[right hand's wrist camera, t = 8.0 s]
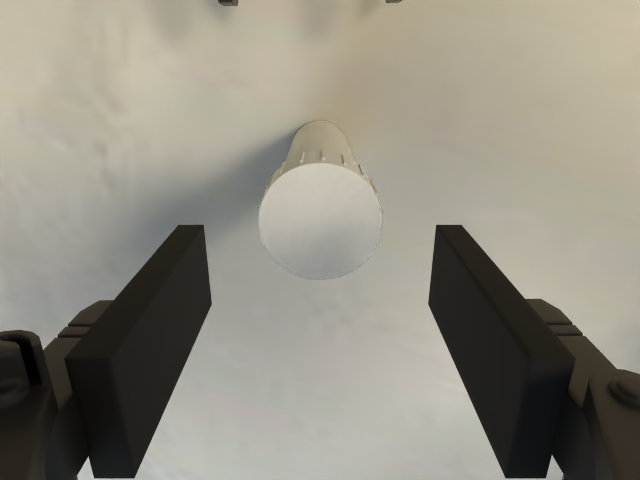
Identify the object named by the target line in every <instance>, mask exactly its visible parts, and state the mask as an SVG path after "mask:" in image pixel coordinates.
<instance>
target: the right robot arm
mask: <svg viewBox="0 0 640 480" xmlns="http://www.w3.org/2000/svg"><path fill="white" fill-rule="evenodd" d="M211 305H212V302H211V292H210V282H209V272H208V262H207V253H206V243H205V233H204V225H178V226H177V227H176V229H175V230H174V231H173V232H172V233H171V234H170V236H169V237H168V238H167V239H166V240H165V241H164V242H163V244H162V245H161V246H160V247H159V248H158V249H157V251H156V252H155V253H154V254H153V255H152V256H151V258H150V259H149V260H148V261H147V262H146V263H145V265H144V266H143V267H142V268H141V269H140V270H139V272H138V273H137V274H136V275H135V276H134V277H133V279H132V280H131V281H130V282H129V283H128V284H127V286H126V287H125V288H124V289H123V290H122V291H121V293H120V294H119V295H118V296H117V297H116V298H115V300H99V301H97V302H96V303H94V304H92V305H91V306H89V307H87V308H85V309H84V310H82V311H80V312H79V313H78V314H77V315H76V317H75V318H74V319H73V320H72V321H71V322H70V323H69V324H68V327H65V328H64V329H63V330H62V331H61V332H60V333H59V334H58V338H55V339H54V340H53V341H52V342H51V343H50V344H49V345H48V346H47V347H46V348H45V349H44V350H43V349H42V345H41V341H40V338H39V336H37V335H36V334H35V333H33V332H30V331H23V330H14V331H3V332H0V480H78V478H77V475H78V473H79V471H80V470H81V468H82V466H83V464H84V463H85V461H86V459H87V458H88V456H89V460H90V463H91V467H92V471H93V475H94V478H135V476H136V473H137V471H138V469H139V467H140V464H141V462H142V460H143V458H144V455H145V453H146V451H147V449H148V446H149V444H150V442H151V440H152V437H153V435H154V433H155V431H156V428H157V426H158V424H159V422H160V419H161V417H162V415H163V413H164V410H165V408H166V406H167V404H168V401H169V399H170V397H171V395H172V392H173V390H174V388H175V386H176V383H177V381H178V379H179V377H180V374H181V372H182V370H183V368H184V365H185V363H186V361H187V359H188V356H189V354H190V352H191V350H192V347H193V345H194V343H195V341H196V338H197V336H198V334H199V332H200V329H201V327H202V325H203V323H204V320H205V318H206V316H207V314H208V311H209V309H210V307H211ZM428 305H429V307H430V309H431V311H432V314H433V316H434V318H435V320H436V323H437V325H438V327H439V329H440V332H441V334H442V336H443V338H444V341H445V343H446V345H447V347H448V350H449V352H450V354H451V356H452V359H453V361H454V363H455V365H456V368H457V370H458V372H459V374H460V377H461V379H462V381H463V383H464V386H465V388H466V390H467V392H468V395H469V397H470V399H471V401H472V404H473V406H474V408H475V410H476V413H477V415H478V417H479V419H480V422H481V424H482V426H483V428H484V431H485V433H486V435H487V437H488V440H489V442H490V444H491V446H492V449H493V451H494V453H495V455H496V458H497V460H498V462H499V464H500V467H501V469H502V471H503V473H504V476H505V478H546V475H547V471H548V467H549V463H550V460H551V456H552V455H553V457H554V459H555V460H556V462H557V464H558V465H559V467H560V469H561V470H562V472H563V478H562V480H640V374H637V373H634V372H630V371H627V370H621V369H616V368H615V367H614V365H613V364H612V363H611V362H610V361H609V360H608V359H607V358H606V357H605V356H604V355H603V354H602V353H601V352H600V351H599V350H598V349H597V348H596V347H595V346H594V345H593V344H592V343H591V342H590V341H589V340H588V338H587V337H586V336H583V333H582V332H581V331H580V330H579V329H578V328H577V327H576V326H575V325H572V322H571V321H570V320H569V319H568V318H567V317H566V316H565V315H564V314H563V312H562V311H561V310H559V309H558V308H556V307H554V306H552V305H551V304H549V303H547V302H545V301H544V300H542V299H525V298H524V297H523V296H522V295H521V294H520V293H519V291H518V290H517V289H516V288H515V287H514V286H513V284H512V283H511V282H510V281H509V280H508V279H507V277H506V276H505V275H504V274H503V273H502V272H501V270H500V269H499V268H498V267H497V266H496V265H495V263H494V262H493V261H492V260H491V259H490V258H489V256H488V255H487V254H486V253H485V252H484V251H483V249H482V248H481V247H480V246H479V245H478V244H477V242H476V241H475V240H474V239H473V238H472V237H471V236H470V234H469V233H468V232H467V231H466V230H465V229H464V227H463V226H462V225H436V233H435V243H434V253H433V262H432V272H431V282H430V292H429V302H428Z"/></svg>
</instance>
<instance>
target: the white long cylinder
mask: <svg viewBox="0 0 640 480" xmlns="http://www.w3.org/2000/svg"><path fill="white" fill-rule="evenodd" d="M322 149H324V151H328V152H333V153H337V154H340V155H342V154H344V155H345V157H347V158H349V159H350V160H352V161H353V162H354V159H353V156H352V153H351V150H350V147H349V144H348V141H347V139H346V136H345V135H344V133H343V132H342V130H341V129H340V128H339V127H338V126H336V125H335V124H333V123H331V122H328V121H323V120H317V121H312V122H309V123H307V124H305V125H304V126H302V127H301V128H300V129H299V130H298V131H297V133H296V134H295V136H294V139H293V141H292V144H291V147H290V150H289V153H288V156H287V159H286V162H287V161H288V160H290V159H291V158H293V157H295V156H297V155H300V154H301V152H304V153H306V152H312V151H322Z"/></svg>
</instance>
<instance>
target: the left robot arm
mask: <svg viewBox="0 0 640 480" xmlns="http://www.w3.org/2000/svg"><path fill="white" fill-rule="evenodd" d="M385 1H386V3H399V2H401V1H402V0H385ZM218 2H219V3H220V4H221V5H223V6H238V0H218Z"/></svg>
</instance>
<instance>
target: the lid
mask: <svg viewBox="0 0 640 480" xmlns="http://www.w3.org/2000/svg"><path fill="white" fill-rule="evenodd" d="M376 194H378V193H377V191H376V189H375V186H374V184H373V182H372V180H371V181H370V180H369V178H368V177H367V175H366V174H365V172H364V171H363V169H362V167H361V165H359V166H358V165H357V164H356V163H355V162H353V161H352V160H350V159H349V158H347V157H345V155H344V154H342V155H340V154H337V153H333V152H328V151H324V149H322V151H312V152H306V153H304V152H301V154H300V155H297V156H295V157H293V158H291V159H290V160H288V161H287V162H286V161H284V162H283V164H282V166H281V167H280V168H279V169H278V170H277V171H276V172H275V174H274V175H273V176H272V175H271V176H270V178H269V181H268V183H267V185H266V191H265V193H264V194H263V196H262V198H261V201H260V203H259V206H258V208H259V212H258V230H259V235H260V238H261V241H262V244H263V245H264V247H265V249H266V251H267V252H268V254H269V255H270V257H271V258H272V259H273V260H274V261H275V262H276V263H277V264H278V265H279V266H281V267H282V268H283V269H285V270H286V271H288V272H290V273H292V274H294V275H297V276H300V277H303V278H307V279H314V280H326V279H333V278H337V277H341V276H343V275H346V274H348V273H350V272H352V271H354V270H355V269H357V268H358V267H359V266H361V265H362V264H363V263H364V262H365V261H366V260H367V259H368V258H369V257H370V255H371V254H372V252H373V251H374V249H375V248H376V245H377V243H378V241H379V238H380V235H381V229H382V214H383V212H382V209H381V207H380V204H379V201H378V199H377V196H376Z"/></svg>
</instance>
